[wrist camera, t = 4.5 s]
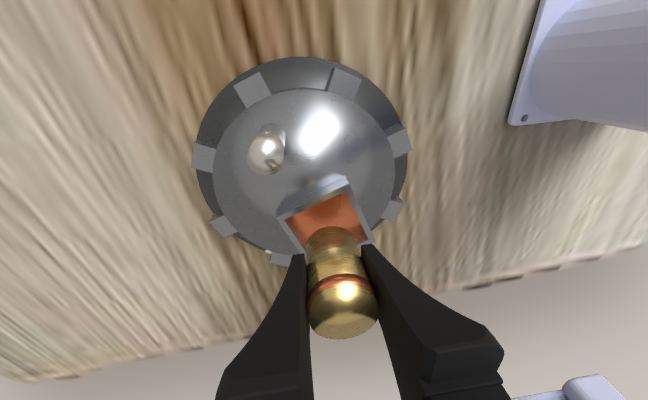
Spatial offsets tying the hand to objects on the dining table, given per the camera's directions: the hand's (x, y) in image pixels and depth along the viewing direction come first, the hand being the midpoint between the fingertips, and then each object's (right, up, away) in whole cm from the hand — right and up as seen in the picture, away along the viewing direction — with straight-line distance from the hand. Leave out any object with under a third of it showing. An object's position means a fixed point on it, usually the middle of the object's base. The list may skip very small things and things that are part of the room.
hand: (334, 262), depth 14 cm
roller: (0, +1, +2) cm, 2 cm away
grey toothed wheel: (-2, +5, +4) cm, 7 cm away
